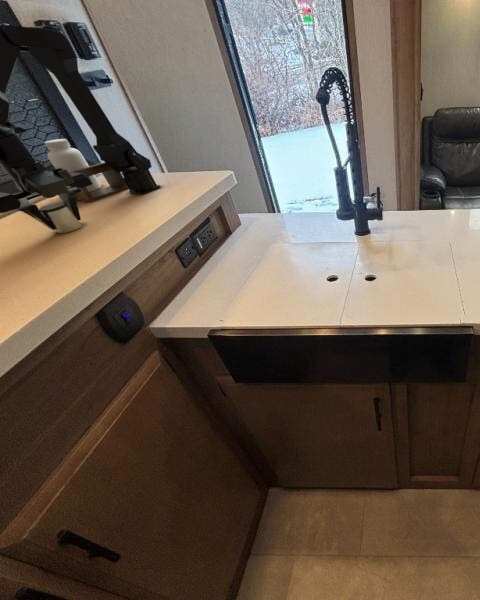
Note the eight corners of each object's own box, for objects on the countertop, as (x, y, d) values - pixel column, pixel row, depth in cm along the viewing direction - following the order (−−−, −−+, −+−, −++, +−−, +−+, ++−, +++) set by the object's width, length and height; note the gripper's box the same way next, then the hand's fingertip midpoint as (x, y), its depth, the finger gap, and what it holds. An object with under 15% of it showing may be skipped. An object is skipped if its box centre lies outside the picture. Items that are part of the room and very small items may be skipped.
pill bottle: (106, 187, 106) (75, 138, 97) (78, 195, 101) (42, 144, 92) (96, 184, 110) (65, 136, 101) (68, 192, 105) (33, 142, 96)
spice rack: (75, 199, 99) (54, 170, 93) (114, 186, 107) (97, 159, 102) (90, 201, 96) (70, 172, 91) (129, 188, 105) (113, 160, 99)
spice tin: (75, 223, 84) (58, 200, 80) (86, 225, 82) (70, 202, 78) (52, 232, 80) (33, 209, 76) (64, 234, 78) (45, 211, 74)
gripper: (-22, 175, 61) (40, 247, 71) (83, 150, 74) (124, 213, 84) (-48, 172, 65) (14, 240, 75) (56, 148, 78) (98, 209, 88)
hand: (66, 224), depth 80 cm, fingers open, 5 cm apart
